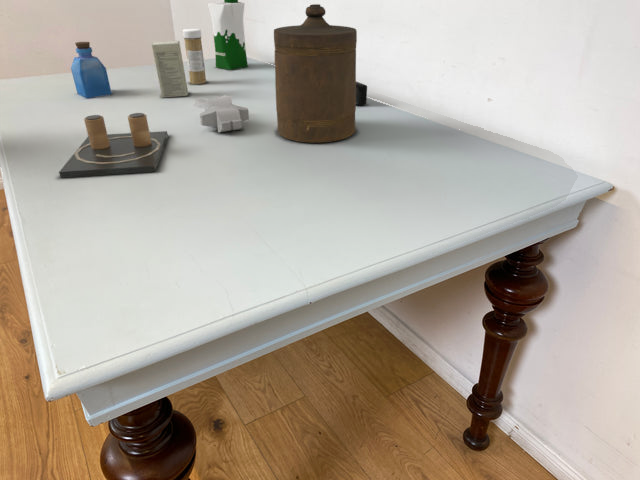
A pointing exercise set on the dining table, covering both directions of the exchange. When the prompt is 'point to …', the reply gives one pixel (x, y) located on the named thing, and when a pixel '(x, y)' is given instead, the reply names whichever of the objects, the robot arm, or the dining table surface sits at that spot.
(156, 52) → the cosmetic box
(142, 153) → the slate board
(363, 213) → the dining table surface
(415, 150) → the dining table surface
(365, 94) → the mobile phone
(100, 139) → the peg left
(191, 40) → the sprinkles bottle
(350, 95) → the wooden container
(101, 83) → the perfume bottle
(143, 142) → the peg right
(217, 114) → the grey angular block
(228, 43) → the milk carton
